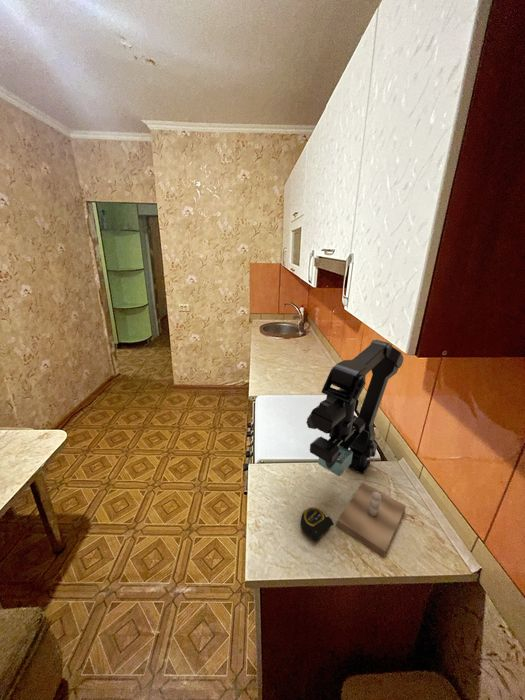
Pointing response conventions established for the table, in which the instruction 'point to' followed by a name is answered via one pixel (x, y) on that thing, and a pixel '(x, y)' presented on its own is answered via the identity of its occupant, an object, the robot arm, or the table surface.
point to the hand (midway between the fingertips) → (335, 460)
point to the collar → (339, 461)
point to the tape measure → (315, 523)
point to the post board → (372, 518)
